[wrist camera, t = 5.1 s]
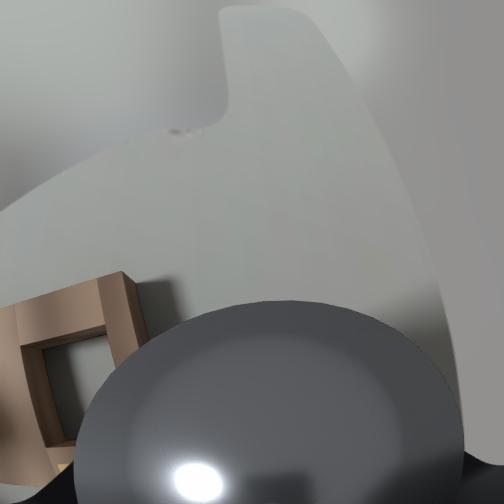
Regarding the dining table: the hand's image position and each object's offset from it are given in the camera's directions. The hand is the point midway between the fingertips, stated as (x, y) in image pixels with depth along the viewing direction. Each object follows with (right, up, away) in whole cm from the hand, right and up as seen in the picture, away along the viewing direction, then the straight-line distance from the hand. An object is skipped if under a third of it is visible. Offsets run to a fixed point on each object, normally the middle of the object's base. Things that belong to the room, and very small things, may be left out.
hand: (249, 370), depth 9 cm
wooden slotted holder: (-16, -7, +5) cm, 19 cm away
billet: (0, -4, +6) cm, 7 cm away
